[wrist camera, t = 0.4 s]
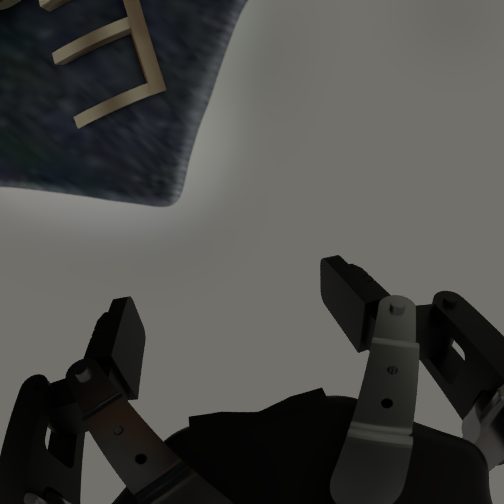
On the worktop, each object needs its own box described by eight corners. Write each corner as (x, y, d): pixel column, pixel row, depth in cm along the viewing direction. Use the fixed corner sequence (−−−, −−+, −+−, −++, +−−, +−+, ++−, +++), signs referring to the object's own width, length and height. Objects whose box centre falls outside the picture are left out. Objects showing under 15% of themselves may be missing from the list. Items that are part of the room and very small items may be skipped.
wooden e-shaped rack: (85, 124, 28) (74, 131, 24) (47, 3, 16) (33, -6, 12) (165, 88, 29) (166, 89, 25) (128, -34, 17) (125, -49, 13)
